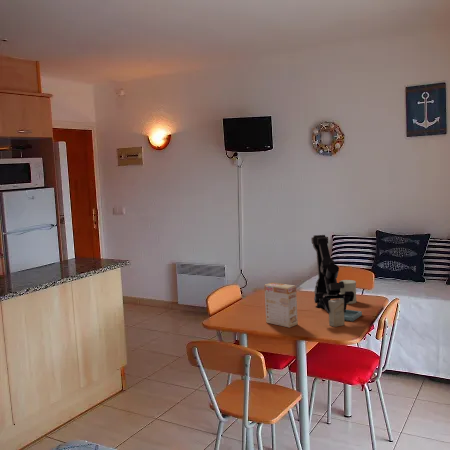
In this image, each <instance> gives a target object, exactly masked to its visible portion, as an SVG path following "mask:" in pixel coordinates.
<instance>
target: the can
mask: <svg viewBox="0 0 450 450" xmlns="http://www.w3.org/2000/svg"><path fill="white" fill-rule="evenodd" d="M340 281H343V282H344V288H341V290H340V293H339V294H345V291H353V292H354V299H353V301H349V303H347V305H353V304H357V302H358V301H357V285H356V284H357V281H356V280H352V279H343V280H340ZM340 281H339V282H340ZM339 282H338V283H339ZM341 300H343V298H341Z"/></svg>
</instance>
